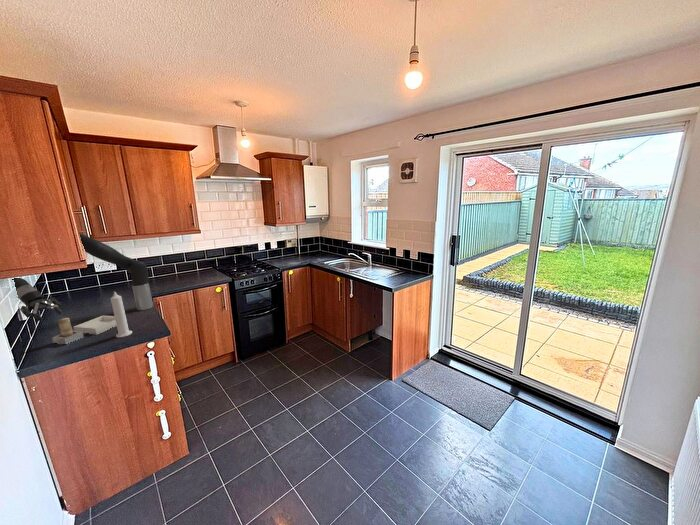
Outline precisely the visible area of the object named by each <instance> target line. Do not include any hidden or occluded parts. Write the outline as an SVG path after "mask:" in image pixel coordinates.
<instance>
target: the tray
mask: <svg viewBox="0 0 700 525" xmlns="http://www.w3.org/2000/svg"><path fill="white" fill-rule="evenodd" d="M112 327H113V328H115V327H117V324H116V320H115V316H114V315H104V314H103V315H101V316H97V317H96V318H92V319H90V320H88V321H85V322H83V323H79V324H77V325H74V326H73V327H72V329H73V331H82V332H83V334H86V333H89V334H88V335H99V334H101V333H103V332H106V331H107V330H110V328H111V329H113V328H112Z"/></svg>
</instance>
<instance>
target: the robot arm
mask: <svg viewBox="0 0 700 525" xmlns="http://www.w3.org/2000/svg"><path fill="white" fill-rule="evenodd" d="M78 232H79V234H80V237H81V241H82V244H83V246H84V249H85V251H84V252H86V253H87V254H89V255H91V256H92V257H94V258H96V259H99V260H101V261H104V262H107V263H110V264H112V265H116V266H117V267H120V268H122V269H123V270H125V271H126V272H129V274H131V282H130V283H131V287H132V291H133V297H134V300H135V306H136V310H137V311H145V310H149V309H152V308H153V307H154V303H153V298H152V292H151V289H150V288H151V287H150V283H149V279H150V278H149V270H148V266H147V265H146V263H145V262H143V261H140V260H136V259H134V258H131V257H128V256H126V255H124V254H123V253H121V252H119V251H118V250H116V249H115V248H113V247H112V246H110V245H107V244H105V243H103V242H102V241H99V240H97V239H95V238H92V237H89V236H88V235H86V234H83V233H82V232H80V231H78ZM12 280H14V282H15V287H16V291H17V295H18V297H17V298H18V299H19V300H20V301H21V303H22V304H24V305H22V306H20V309H19V310H20V311H21V313H22V314H23V315H24V316H25V317H26V318H30V317H33V318H34V319H35V321H39V322H42V320H43V319H44V318H43V317H42V316H41V315H40V314H39V313H37V312H40V311H42V310H47V309H48V310H54V311H55V313H56V314H58V315H62V313H63V310H62V309H61V306H62V303H61V302H60V301H59V300H57V299H56V298H55V297H51V298H50V299H46V298H45V296H44V295H42V294H41V292H40V291H39V290H38V289H36V288H35V287H34V286H33V285H31V284H30V283H29V281H27V280H26V279H24V278H21V277H20V278H14V279H12ZM30 310H32V312H31V311H30Z"/></svg>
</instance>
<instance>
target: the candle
mask: <svg viewBox="0 0 700 525" xmlns="http://www.w3.org/2000/svg"><path fill="white" fill-rule="evenodd" d="M110 302H111V306H112V311H113V316H115V320H116V324H117V326H116V328H117V332H118V333H116V335H115V337H116V338H118V339H119V338H125V337H127V336H131V335H132V334H133V331H132V330H130V329H129V325H128V321H127V320H128V319H127V316H126V312H125V307H124V303H123V298H122V295H120V294H119V295H118V294H117V292H116V291H113V295H112V296H111V297H110Z"/></svg>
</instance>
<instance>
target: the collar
mask: <svg viewBox="0 0 700 525" xmlns="http://www.w3.org/2000/svg"><path fill="white" fill-rule="evenodd" d="M80 338H81V339H83V338H85V336H84V333H83V332H82V331H74V330H73V334H72V335H70V336H67V337H62V335H61V333H60V334H57V335H55V336H53V337H52V342H53V344H54V343H57V344H56V345H62V344H67V345H69V344H71V343H70V342H72V343H74V342H76V341H79V340H81V339H80ZM78 339H79V340H78ZM75 340H76V341H75ZM73 341H74V342H73ZM68 343H69V344H68Z"/></svg>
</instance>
